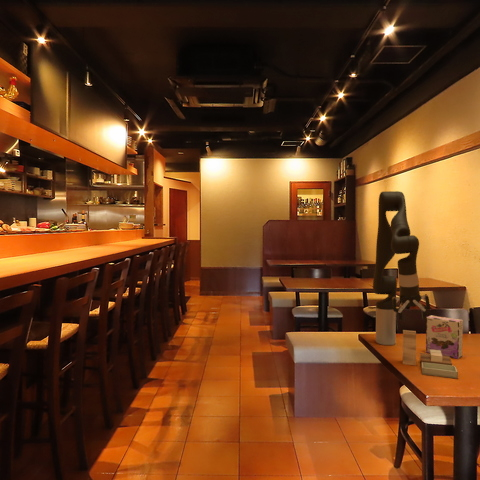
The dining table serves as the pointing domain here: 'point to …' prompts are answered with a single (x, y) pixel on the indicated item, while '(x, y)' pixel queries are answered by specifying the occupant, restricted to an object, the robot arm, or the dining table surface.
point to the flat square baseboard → (427, 359)
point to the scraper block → (409, 347)
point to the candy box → (444, 336)
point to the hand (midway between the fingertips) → (412, 319)
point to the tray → (439, 370)
